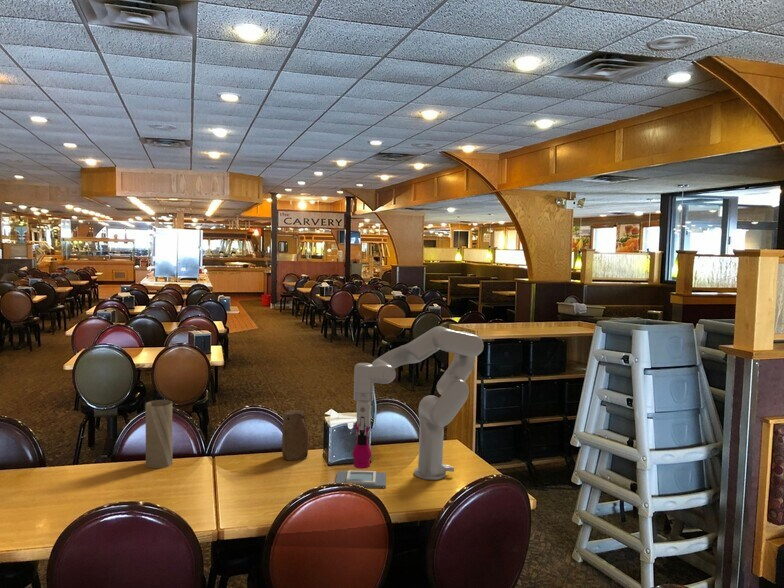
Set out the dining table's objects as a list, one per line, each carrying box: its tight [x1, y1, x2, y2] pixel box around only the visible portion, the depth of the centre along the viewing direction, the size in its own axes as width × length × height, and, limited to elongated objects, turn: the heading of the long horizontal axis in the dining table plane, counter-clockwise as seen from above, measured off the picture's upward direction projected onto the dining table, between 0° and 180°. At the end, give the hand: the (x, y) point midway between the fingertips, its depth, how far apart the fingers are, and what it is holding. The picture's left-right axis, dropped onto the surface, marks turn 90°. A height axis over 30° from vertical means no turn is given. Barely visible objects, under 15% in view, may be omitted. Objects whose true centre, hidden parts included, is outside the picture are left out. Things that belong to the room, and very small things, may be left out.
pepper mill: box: [352, 420, 372, 470], centre depth 236 cm, size 7×7×20 cm
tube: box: [145, 399, 173, 470], centre depth 248 cm, size 10×10×25 cm
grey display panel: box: [334, 470, 387, 489], centre depth 238 cm, size 19×13×2 cm
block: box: [281, 409, 309, 462], centre depth 259 cm, size 11×8×20 cm
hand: (362, 441), depth 236 cm, fingers closed on pepper mill, 5 cm apart
